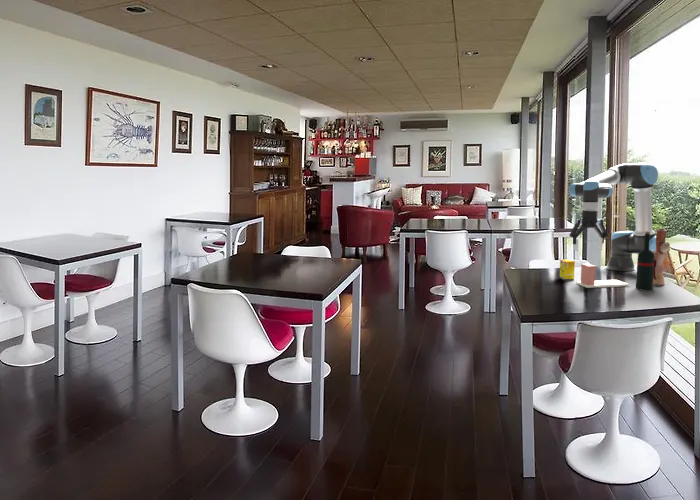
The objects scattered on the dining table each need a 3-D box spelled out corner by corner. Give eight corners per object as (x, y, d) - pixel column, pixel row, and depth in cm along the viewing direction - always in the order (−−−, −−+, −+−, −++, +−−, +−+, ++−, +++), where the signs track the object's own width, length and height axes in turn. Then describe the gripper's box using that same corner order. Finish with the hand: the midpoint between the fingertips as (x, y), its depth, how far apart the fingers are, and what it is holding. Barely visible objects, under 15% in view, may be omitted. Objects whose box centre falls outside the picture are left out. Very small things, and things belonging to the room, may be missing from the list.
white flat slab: (616, 281, 317) (616, 279, 316) (628, 286, 306) (628, 283, 306) (589, 283, 315) (589, 280, 315) (600, 287, 304) (600, 284, 304)
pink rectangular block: (588, 282, 315) (589, 262, 313) (599, 287, 304) (600, 266, 302) (576, 283, 314) (576, 263, 312) (586, 287, 303) (587, 267, 301)
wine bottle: (660, 290, 296) (664, 232, 291) (641, 290, 295) (644, 232, 290) (650, 286, 303) (654, 230, 299) (632, 287, 303) (635, 230, 298)
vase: (646, 282, 314) (649, 227, 309) (659, 282, 313) (663, 227, 309) (655, 286, 303) (659, 230, 299) (669, 286, 303) (673, 230, 298)
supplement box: (559, 278, 328) (559, 259, 326) (569, 278, 328) (570, 259, 327) (563, 280, 322) (564, 261, 320) (574, 280, 323) (575, 261, 321)
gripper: (608, 209, 308) (606, 248, 312) (563, 210, 306) (562, 249, 309) (616, 210, 301) (613, 250, 304) (570, 211, 298) (568, 251, 301)
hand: (587, 250), depth 307 cm, fingers open, 13 cm apart
